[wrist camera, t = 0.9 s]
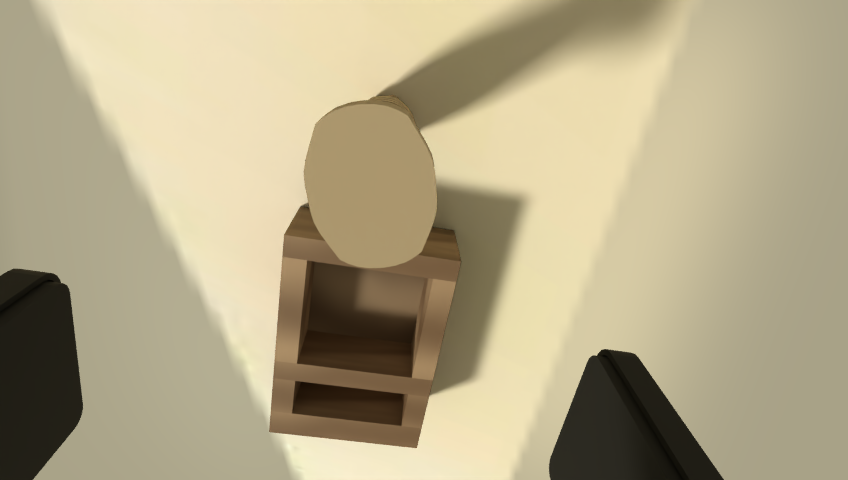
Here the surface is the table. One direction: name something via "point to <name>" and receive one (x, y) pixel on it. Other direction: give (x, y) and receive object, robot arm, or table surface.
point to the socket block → (358, 339)
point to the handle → (371, 183)
